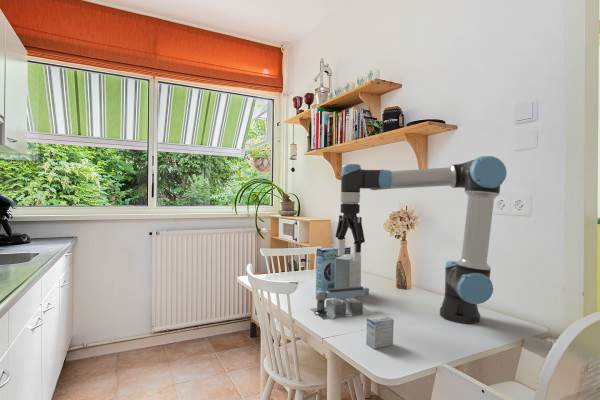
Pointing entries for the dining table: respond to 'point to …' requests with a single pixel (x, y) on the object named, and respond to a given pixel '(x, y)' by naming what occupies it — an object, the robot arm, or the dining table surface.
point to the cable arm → (342, 293)
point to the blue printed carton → (327, 267)
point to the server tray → (326, 314)
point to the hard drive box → (347, 272)
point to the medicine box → (379, 332)
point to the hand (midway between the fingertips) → (348, 258)
